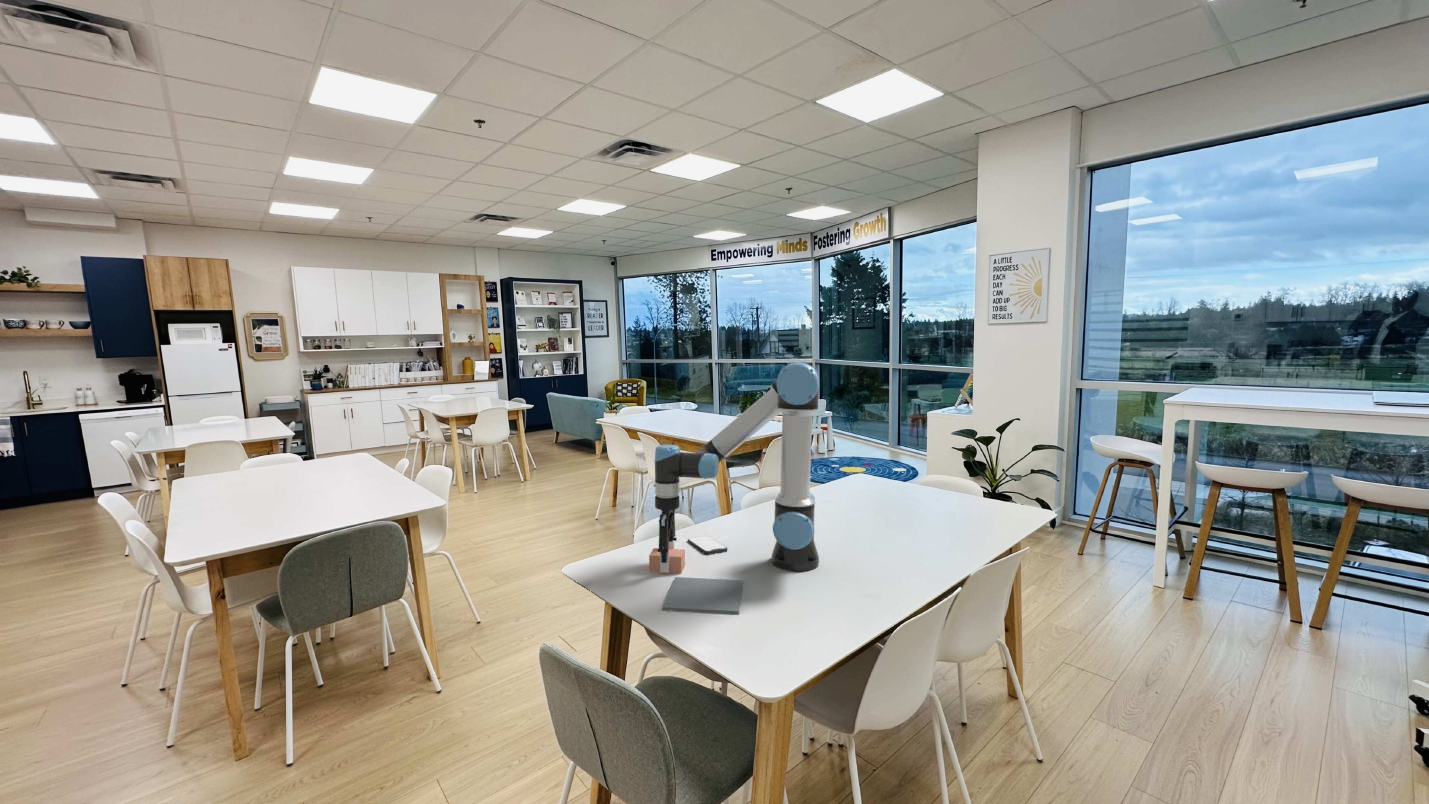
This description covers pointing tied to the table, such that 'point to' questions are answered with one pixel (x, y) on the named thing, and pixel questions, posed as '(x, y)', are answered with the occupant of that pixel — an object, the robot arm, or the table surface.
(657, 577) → the table surface
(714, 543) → the smartphone
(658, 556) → the card box
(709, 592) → the mat
